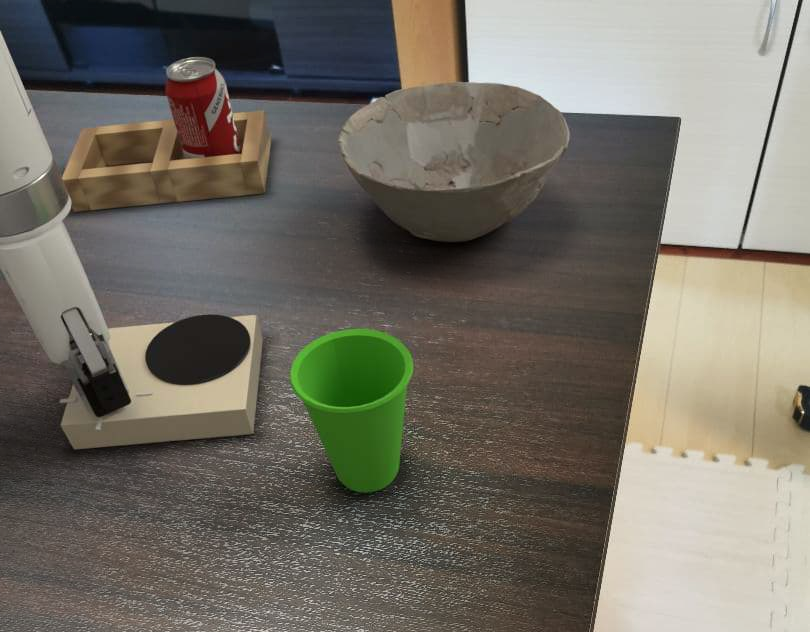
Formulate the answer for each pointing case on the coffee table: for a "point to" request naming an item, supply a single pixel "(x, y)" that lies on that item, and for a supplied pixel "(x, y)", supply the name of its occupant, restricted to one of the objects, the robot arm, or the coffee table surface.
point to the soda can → (201, 109)
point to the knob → (75, 376)
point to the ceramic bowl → (454, 155)
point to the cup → (356, 402)
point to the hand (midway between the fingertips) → (103, 391)
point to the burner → (198, 349)
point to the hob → (168, 398)
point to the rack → (162, 165)
